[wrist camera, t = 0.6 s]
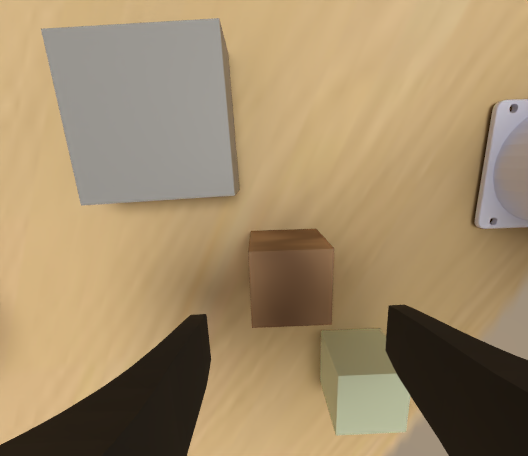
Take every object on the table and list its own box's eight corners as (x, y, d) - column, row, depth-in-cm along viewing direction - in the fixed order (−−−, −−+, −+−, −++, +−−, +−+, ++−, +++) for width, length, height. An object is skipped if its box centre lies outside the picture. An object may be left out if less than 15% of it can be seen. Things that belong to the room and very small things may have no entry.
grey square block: (228, 55, 16) (219, 18, 12) (239, 189, 18) (234, 195, 14) (95, 63, 16) (41, 28, 12) (120, 196, 17) (81, 205, 14)
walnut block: (315, 228, 18) (334, 248, 14) (314, 288, 19) (331, 324, 15) (250, 230, 18) (248, 251, 14) (253, 290, 19) (251, 327, 15)
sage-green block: (379, 327, 20) (413, 372, 16) (375, 376, 21) (406, 432, 17) (320, 329, 20) (338, 376, 16) (319, 379, 21) (335, 435, 17)
